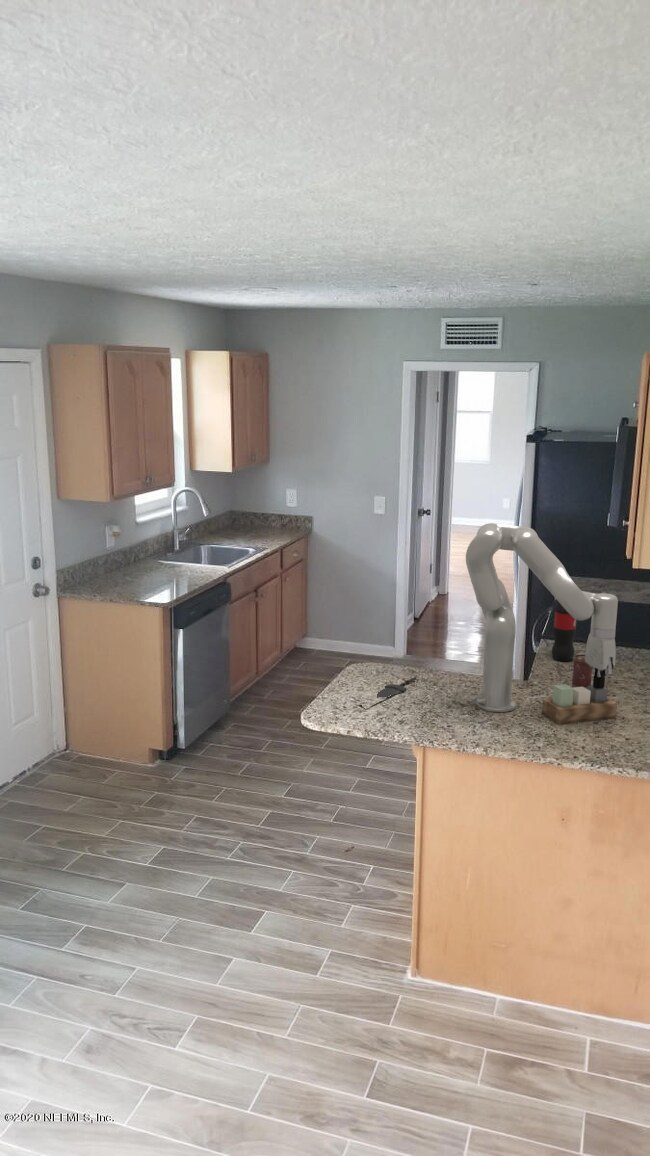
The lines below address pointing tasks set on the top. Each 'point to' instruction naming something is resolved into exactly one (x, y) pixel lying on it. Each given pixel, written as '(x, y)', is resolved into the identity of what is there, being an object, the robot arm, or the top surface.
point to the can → (581, 672)
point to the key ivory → (581, 695)
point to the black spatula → (393, 689)
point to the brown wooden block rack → (579, 711)
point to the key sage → (563, 695)
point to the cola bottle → (563, 634)
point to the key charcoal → (598, 694)
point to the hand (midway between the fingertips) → (598, 687)
